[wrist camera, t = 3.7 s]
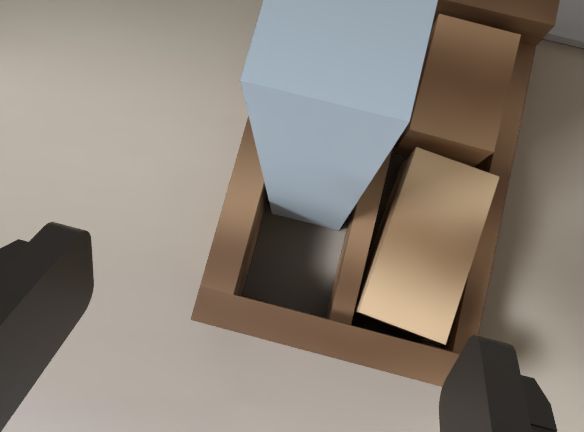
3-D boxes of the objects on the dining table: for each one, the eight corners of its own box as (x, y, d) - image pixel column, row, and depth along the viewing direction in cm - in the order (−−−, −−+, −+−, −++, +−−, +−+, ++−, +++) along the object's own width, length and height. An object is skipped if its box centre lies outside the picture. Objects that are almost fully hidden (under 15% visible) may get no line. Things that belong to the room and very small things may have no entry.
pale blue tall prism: (338, 230, 28) (409, 121, 11) (272, 213, 28) (239, 80, 11) (369, 106, 29) (477, -167, 12) (305, 91, 29) (321, -202, 12)
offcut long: (423, 338, 27) (445, 344, 23) (349, 310, 27) (358, 312, 23) (470, 194, 28) (499, 176, 24) (399, 168, 28) (416, 146, 24)
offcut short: (465, 172, 28) (494, 152, 24) (393, 152, 28) (409, 129, 24) (490, 70, 29) (520, 34, 25) (419, 52, 29) (439, 13, 25)
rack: (454, 383, 26) (482, 397, 22) (205, 316, 27) (190, 319, 23) (524, 38, 29) (560, -3, 25) (298, -16, 30) (299, -64, 26)
